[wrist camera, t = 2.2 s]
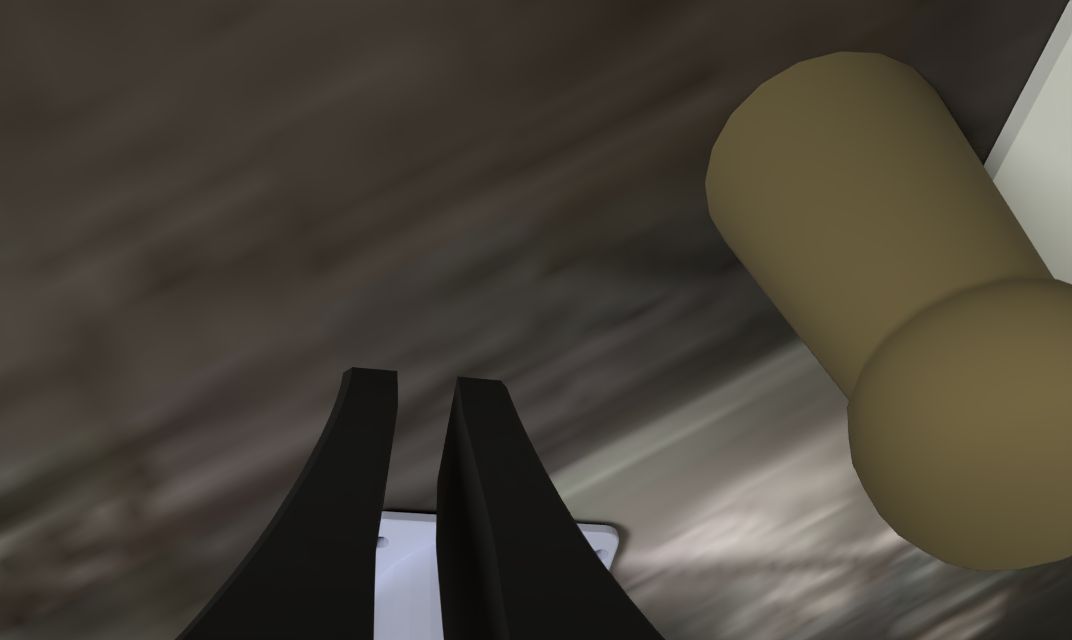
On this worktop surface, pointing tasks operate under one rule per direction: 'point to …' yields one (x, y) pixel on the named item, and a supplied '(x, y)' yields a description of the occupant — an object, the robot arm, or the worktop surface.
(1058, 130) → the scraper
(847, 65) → the cork
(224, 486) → the worktop surface
